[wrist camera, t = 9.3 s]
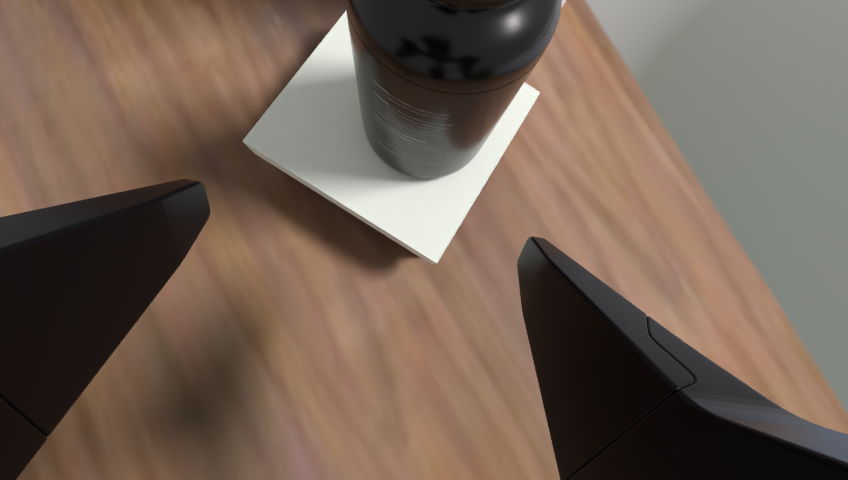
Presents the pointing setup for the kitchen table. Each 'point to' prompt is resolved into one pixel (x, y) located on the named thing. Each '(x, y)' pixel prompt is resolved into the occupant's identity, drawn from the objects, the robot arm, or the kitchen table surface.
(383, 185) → the white square riser
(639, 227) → the kitchen table surface
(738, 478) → the robot arm
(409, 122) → the supplement bottle
